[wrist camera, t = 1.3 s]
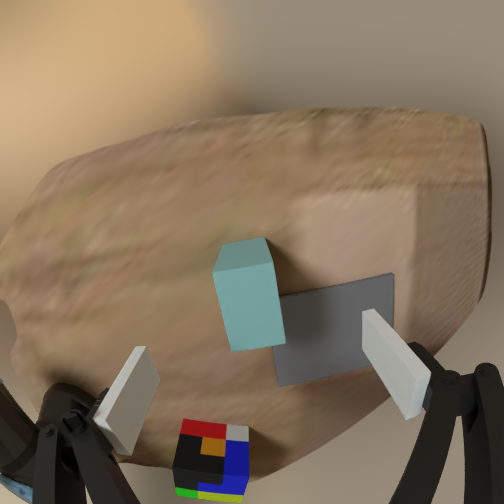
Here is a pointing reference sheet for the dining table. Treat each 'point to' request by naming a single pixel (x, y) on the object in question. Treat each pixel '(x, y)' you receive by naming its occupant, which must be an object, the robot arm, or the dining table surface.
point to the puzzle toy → (212, 461)
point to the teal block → (249, 295)
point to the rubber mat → (329, 328)
